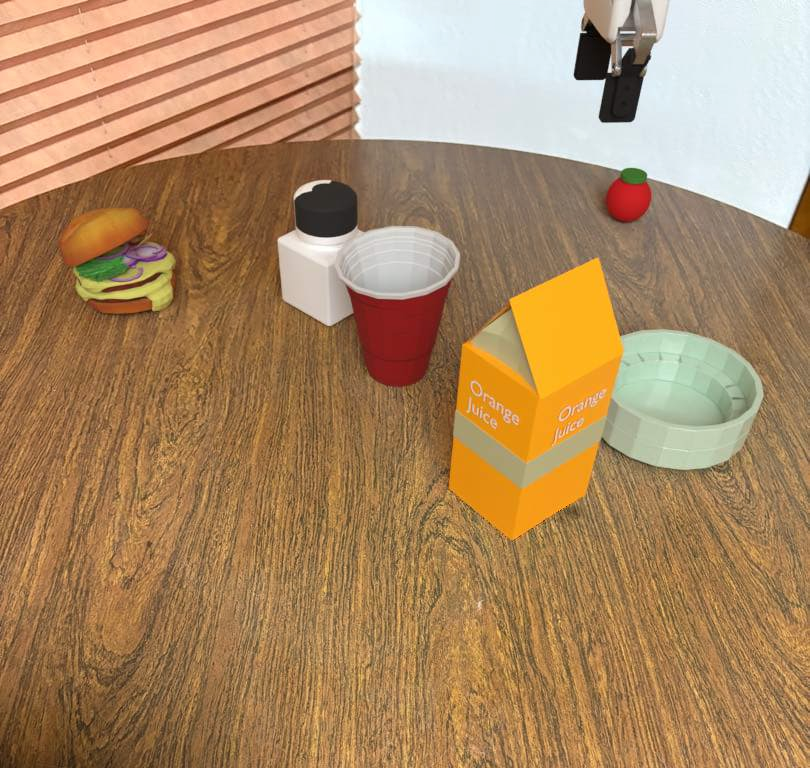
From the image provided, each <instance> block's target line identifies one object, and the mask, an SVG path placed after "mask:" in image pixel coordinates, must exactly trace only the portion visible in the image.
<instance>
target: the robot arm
mask: <svg viewBox="0 0 810 768" xmlns="http://www.w3.org/2000/svg"><path fill="white" fill-rule="evenodd" d="M582 1H583V2H582V3H583V4H582V5H583V9H584V14H583V16H582V17H581V22H580V29H581V31H580V33H579V38H578V44H577V50H576V57H575V62H574V68H573V77H574V79H575V80H576V81H604V85H603V86H604V87H603V91H602V96H601V102H600V105H599V112H598V120H599V122H601V123H602V124H618V123H623V124H624V123H632V122H633V121H635V119H636V115H637V110H638V107H639V101H640V96H641V92H642V88H643V83H644V78H645V77H646V75H647V71H648V64H649V62H650V61H651V59H652V55H651V54H652V50H653V48H654V45H655V44H657V43H658V42H660V40H661V39H662V38H663V35H664V31H665V26H666V21H667V16H668V11H669V6H670V0H582ZM622 32H623V33H622ZM624 32H629V33H624ZM630 32H631V33H630ZM634 32H635V33H634ZM623 47H629V48H628V49H627V50H626V52H625V53H624V54H623ZM610 62H611V63H610ZM610 66H611V69H610V71H611V72H609V68H610Z"/></svg>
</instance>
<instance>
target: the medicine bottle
mask: <svg viewBox="0 0 810 768" xmlns="http://www.w3.org/2000/svg"><path fill="white" fill-rule="evenodd" d="M293 210H294V226H295V229H294V230H292V231H290V232H287V233H285V234H283V235H282V236H279V237H278V238H277V251H278V252H277V254H278V264H279V275H280V286H281V299H282V301H284V302H285V303H286V304H288V305H290V306H292V307H293V308H294V309H295V308H296V309H297V310H299V311H300V312H302V313H304V314H306V315H308V316H310V317H311V318H313V319H315V320H316V321H317V322H320V323H322V324H323V325H325V326H326V327H329V326H330V327H332V326H334V325H336V324H338V323H339V322H340V321H342V320H345V319H346V318H348V317H349V316H351V315H354V313H353V308H352V304H351V299H350V296H349V293H348V290H347V287H346V285H345V284H344V283H343V282H342V281H341V279H340V277H339V275H338V272H337V270H336V268H335V265H334V264H335V260H336V257H337V253H338V251H339V250H340V249H341V248H342V247H343V246H344V245H345V244H346V243H347V242H348V241H349V240H350V239H352V238H354V237H356V236H358V235H361V234H363V233H365V232H366V231H363V230H361V229H359V228H358V227H359V223H358V222H359V221H358V220H359V219H358V194H357V192H356V191H355V190H354V189H353V188H352V187H351V186H350V185H348V184H346V183H344V182H340V181H337V180H331V179H319V180H315V181H310V182H307V183H305V184H303V185H301V186H299V187H298V188H297V189H296V190H295V192H294V194H293Z"/></svg>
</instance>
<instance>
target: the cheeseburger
mask: <svg viewBox="0 0 810 768" xmlns="http://www.w3.org/2000/svg"><path fill="white" fill-rule="evenodd" d="M149 226H150V221H149V220H148V218H146V217H145V216H144V215H143V214H142V213H141V211H139V210H138V208H135V207H103V208H97V209H93V210H90V211H86V212H84V213H81V214H80V215H78V216H76V217H74V218H73V219H72V220H71V221H70V222H69V224H68V225H67V227H66V228H65V230H64V231H63V232H62V235H61V237H60V239H59V244H58V245H59V246H58V247H59V251H60V256H61V260H62V263H63V264H64V265H66V266H67V267H72V272H73V274H74V275H75V276H76V280H75V291H76V292H77V294H78V296H80V297H81V299H82V300H83V301H84V302H87V303H88V305H89V306H90V307H91V306H92V307H93V308H92V307H91V308H92V309H94V310H96V311H97V312H99V313H101V314H113V315H115V314H117V315H123V314H126V315H127V314H138V313H142V312H146V311H152V312H160V311H162V310H165V309H167V308H168V307H169V306H170V305H171V303H172V301H173V299H174V293H175V288H176V284H177V281H176V273H175V271H174V269H175V268H176V262H177V260H176V257H175V256H174V255H173V254H172V253H171V252H170V251H168V250H167V248H165V246H162V245H159V244H158V243H157V242H153V241H150V240H151V239H152V237H153V235H154V234H153V232H151V233H150V234H149V235H146V234H142V233H143V232H144V231H145V230H146V229H148V227H149ZM140 234H142V235H140ZM139 235H140V236H139Z"/></svg>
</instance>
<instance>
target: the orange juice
mask: <svg viewBox="0 0 810 768" xmlns="http://www.w3.org/2000/svg"><path fill="white" fill-rule="evenodd" d="M508 301H509V302H508V303H507V304H506V305H505V306H503V308H502V309H501V310H499V312H497V314H495V315H494V316H493V317H492V318H491V319H490V320H489V321H488V322H487V323H486V324H485V325H483V327H481V328H480V329H479V330H478V331H477V332H476V333H475V334H474V335H473V336H471V338H469V339H468V340H467V341H466V342H464V343H462V345H461V354H460V355H461V356H460V365H459V376H458V386H457V397H456V407H455V411H454V421H453V431H452V436H453V437H452V439H453V440H452V449H451V460H450V461H451V462H450V469H449V470H450V471H449V481H448V490H449V489H450V490H451V491H453V493H455V494H456V495H457V496H459V498H461V499H462V500H463V501H464V502H466V503H467V504H468V505H470V506H471V507H472V508H473V509H474V510H475V511H477V512H478V513H479V514H480V515H481V516H483V517H484V518H485V519H486V520H488V522H490V523H491V524H492V525H494V527H496V528H497V529H498V530H500V531H501V532H502V533H504V535H506V536H507V537H508V538H510V540H514V539H515V538H517V537H519V536H520V535H522V536H521V537H523V536H525V535H526V534H528V533H529V532H531V531H532V530H534V529H535V528H537V527H538V526H540V525H541V524H542V523H544V522H546V521H547V520H545V519H546V518H549V517H550V516H552V515H553V514H555V513H556V512H558V511H559V512H558V513H560V512H561V511H563V510H564V509H565V508H567V507H569V506H570V505H572V504H573V503H575V502H577V501H578V500H580V499H581V498H583V497H584V496H586V495H587V490H588V487H589V484H590V479H591V475H592V472H593V468H594V464H595V460H596V456H597V453H598V450H599V446H600V441H601V440H602V433H603V429H604V426H605V422H606V418H607V412H608V408H609V404H610V400H611V396H612V393H613V389H614V385H615V381H616V377H617V374H618V370H619V366H620V362H621V359H622V355H623V353H624V349H623V346H622V342H621V338H620V336H621V334H620V331H619V328H618V324H617V321H616V316H615V313H614V309H613V306H612V301H611V298H610V294H609V291H608V287H607V283H606V280H605V276H604V272H603V268H602V265H601V261H600V258H599V256H598V257H596V258H593V259H591V260H588V261H587V262H585V263H583V264H581V265H579V266H576V267H574V268H573V269H570V270H568V271H566V272H564V273H562V274H560V275H557V276H555V277H553V278H551V279H549V280H547V281H545V282H542V283H540V284H538V285H536V286H534V287H532V288H530V289H528V290H526V291H524V292H521V293H520V294H517V295H515V296H514V297H511V298H509V299H508ZM450 493H451V494H452V495H454V494H453V493H452V492H450ZM456 498H457V499H458V500H460V499H459V498H458V497H456ZM577 499H578V500H577ZM574 501H575V502H574ZM464 502H462V503H463V504H464V505H466V504H465V503H464ZM569 504H570V505H569ZM566 506H567V507H566ZM468 508H469V509H470V510H472V509H471V508H470V507H468ZM563 508H564V509H563ZM561 509H562V510H561ZM560 510H561V511H560ZM474 513H475V514H476V515H478V514H477V513H476V512H474ZM558 513H556V514H555V515H557V514H558ZM555 515H553V516H555ZM553 516H552V517H553ZM552 517H550V518H549V519H551V518H552ZM480 518H481V519H482V520H484V519H483V518H482V517H480ZM543 520H545V521H544V522H542V521H543ZM485 522H486V523H487V524H488V525H490V524H489V523H488V522H487V521H485ZM540 522H542V523H541V524H539V523H540ZM537 524H539V525H538V526H536V525H537ZM534 526H536V527H535V528H533V527H534ZM491 527H492V528H493V529H494V530H496V529H495V528H494V527H493V526H491ZM531 528H533V529H532V530H530V529H531ZM528 530H530V531H529V532H527V533H526V534H524V535H523V533H525V532H526V531H528ZM497 532H498V533H499V534H501V533H500V532H499V531H497ZM503 537H504V538H505V539H507V538H506V537H505V536H503ZM521 537H519V538H518V539H520V538H521ZM518 539H516V540H515V541H517V540H518ZM515 541H513V542H511V541H509V542H510V543H511V544H513V543H514V542H515Z"/></svg>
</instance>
